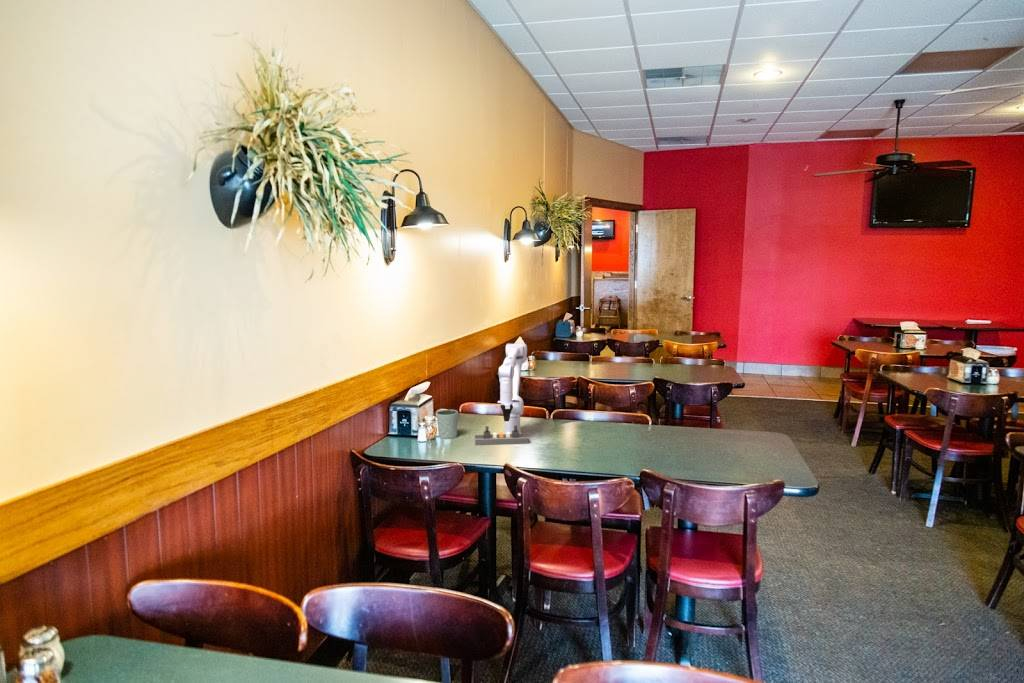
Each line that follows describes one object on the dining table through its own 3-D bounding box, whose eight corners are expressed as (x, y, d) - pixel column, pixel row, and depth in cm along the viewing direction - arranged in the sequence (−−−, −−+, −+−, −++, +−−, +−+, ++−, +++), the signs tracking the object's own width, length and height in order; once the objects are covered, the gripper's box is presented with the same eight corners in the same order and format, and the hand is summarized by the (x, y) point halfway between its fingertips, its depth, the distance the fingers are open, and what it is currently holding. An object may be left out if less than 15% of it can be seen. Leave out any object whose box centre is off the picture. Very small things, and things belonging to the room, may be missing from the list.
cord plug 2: (511, 435, 283) (511, 425, 282) (518, 435, 283) (518, 424, 283) (512, 437, 280) (512, 426, 279) (519, 437, 280) (519, 426, 280)
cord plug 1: (483, 436, 282) (483, 425, 281) (490, 436, 282) (490, 425, 281) (483, 438, 279) (483, 427, 278) (490, 438, 279) (490, 427, 278)
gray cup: (460, 434, 295) (459, 409, 293) (456, 440, 285) (455, 414, 283) (439, 433, 296) (438, 409, 294) (434, 439, 286) (434, 414, 284)
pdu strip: (474, 440, 284) (474, 434, 283) (526, 439, 286) (526, 433, 286) (475, 445, 277) (475, 439, 276) (528, 443, 279) (528, 437, 279)
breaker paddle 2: (505, 436, 282) (505, 432, 282) (509, 435, 283) (509, 432, 282) (506, 437, 280) (506, 433, 280) (509, 437, 280) (509, 433, 280)
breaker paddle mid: (499, 436, 282) (499, 432, 282) (502, 436, 282) (502, 432, 282) (499, 437, 280) (499, 433, 279) (503, 437, 280) (503, 433, 280)
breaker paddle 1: (492, 436, 282) (492, 432, 282) (496, 436, 282) (496, 432, 282) (493, 437, 279) (493, 434, 279) (496, 437, 280) (496, 433, 279)
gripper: (496, 388, 285) (497, 417, 287) (498, 395, 271) (498, 425, 273) (512, 388, 286) (512, 416, 287) (514, 394, 271) (514, 424, 273)
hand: (506, 420), depth 280 cm, fingers closed
